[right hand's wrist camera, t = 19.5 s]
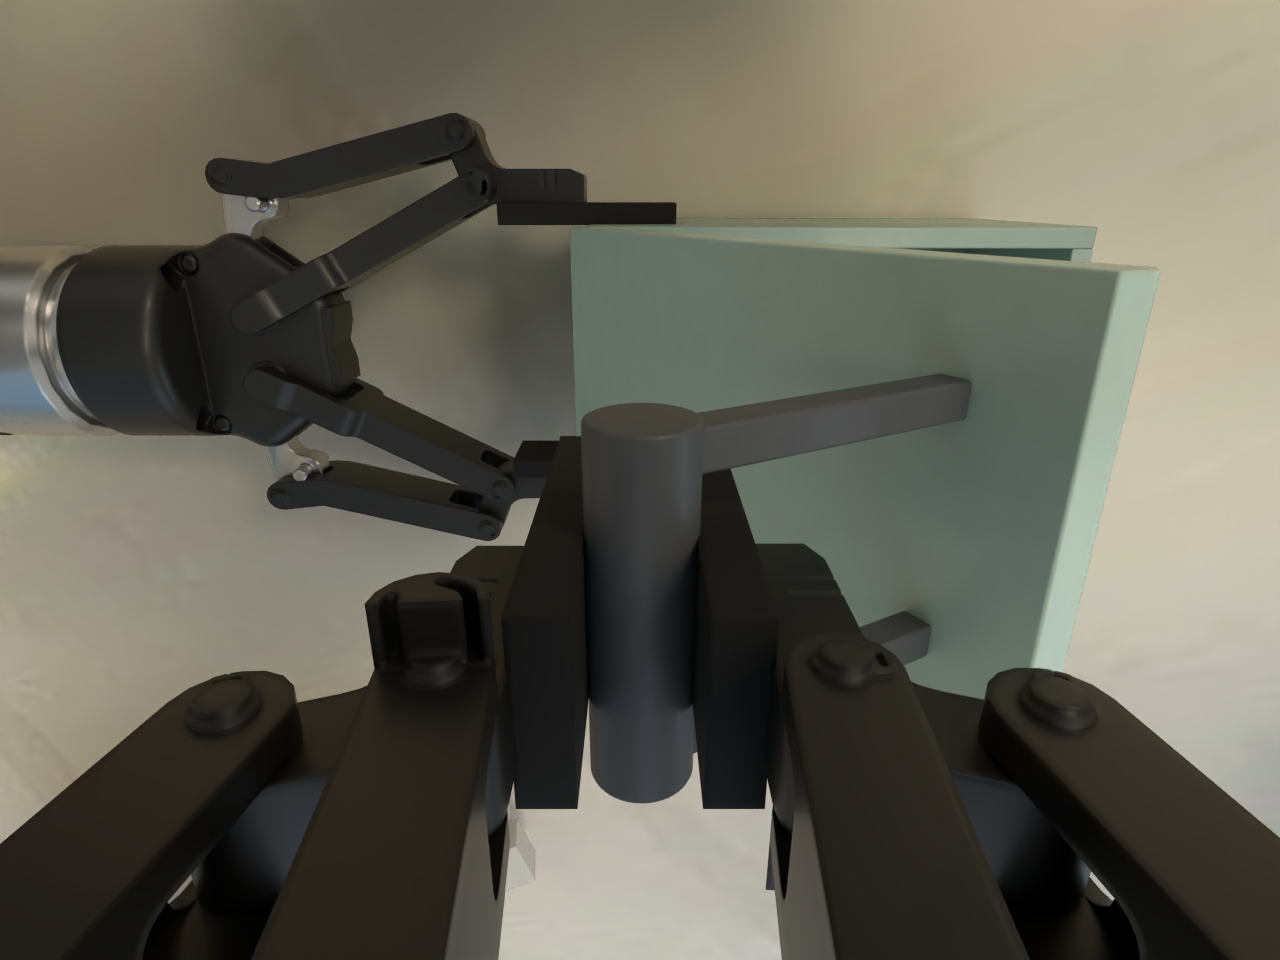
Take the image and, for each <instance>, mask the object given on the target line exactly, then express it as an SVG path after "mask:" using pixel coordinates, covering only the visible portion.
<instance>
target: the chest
mask: <svg viewBox="0 0 1280 960" xmlns="http://www.w3.org/2000/svg"><path fill="white" fill-rule="evenodd" d="M586 227H608V228H621V229H635V230H649V231H663V232H677V233H690V234H704V235H718V236H732V237H745V238H759V239H773V240H787V241H801V242H814V243H828V244H842V245H856V246H869V247H883V248H897V249H911V250H924V251H938V252H952V253H966V254H980V255H993V256H1007V257H1021V258H1035V259H1048V260H1062V261H1076V262H1090V259H1091V255H1092V249H1091V248H1093V245H1094V240H1095V236H1096V231H1097V228H1096V227H1089V226H1074V225H1059V224H1044V223H1029V222H1015V221H1000V220H985V219H676V224H591V225H588V226H586Z"/></svg>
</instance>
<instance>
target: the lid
mask: <svg viewBox="0 0 1280 960" xmlns="http://www.w3.org/2000/svg"><path fill="white" fill-rule="evenodd" d="M570 255H571V286H572V318H573V350H574V382H575V413H576V436H581V448H582V482H583V517H584V551H585V586H586V620H587V655H588V689H589V724H590V758H591V771H592V775H593V777H594V779H595V781H596V782H597V784H598V785H599V786H600V787H601V788H602V789H603V790H604V791H605V792H606V793H608V794H609V795H611V796H613V797H615V798H617V799H620V800H623V801H626V802H632V803H652V802H657V801H661V800H664V799H666V798H669V797H671V796H673V795H674V794H676V793H677V792H679V791H680V790H681V789H682V788H683V787H684V786H685V784H686V783H687V781H688V780H689V778H690V776H691V773H692V768H693V754H694V753H696V752H697V743H696V733H695V723H694V713H693V676H694V644H695V612H696V580H697V548H698V538H699V536H700V527H701V497H702V475H703V474H708V473H713V472H718V471H722V470H727V469H731V471H732V474H733V477H734V480H735V483H736V486H737V489H738V492H739V496H740V499H741V502H742V505H743V508H744V511H745V514H746V517H747V520H748V523H749V526H750V529H751V532H752V535H753V538H754V541H755V543H783V544H805V545H807V546H808V547H809V548H811V549H812V550H813V551H815V552H816V553H818V554H819V555H820V556H822V557H823V558H824V559H825V560H826V562H827V564H828V566H829V568H830V570H831V572H832V574H833V576H834V580H836V582H837V584H838V586H839V588H840V590H841V595H843V596H844V598H845V600H846V602H847V604H848V606H849V608H850V610H851V612H852V614H853V616H854V618H855V620H856V622H857V623H858V625H859V627H860V629H861V631H862V633H863V635H864V637H865V639H867V640H870V641H873V642H875V643H878V644H880V645H881V646H883V647H884V648H886V649H887V650H889V651H890V652H892V653H893V654H895V655H896V656H897V658H898V659H899V660H900V662H901V663H902V664H903V666H904V667H905V668H906V671H907V673H908V675H909V678H910V680H911V682H914V683H916V684H919V685H921V686H924V687H928V688H932V689H936V690H939V691H944V692H949V693H954V694H959V695H964V696H969V697H974V698H979V699H984V698H985V693H986V688H987V683H988V681H990V680H991V679H992V678H993V677H994V676H995V675H996V674H997V673H998V672H1002V671H1005V670H1009V669H1013V668H1042V669H1049V670H1052V671H1058V672H1062V673H1063V669H1064V665H1065V660H1066V656H1067V652H1068V648H1069V644H1070V640H1071V636H1072V632H1073V628H1074V624H1075V619H1076V615H1077V611H1078V607H1079V603H1080V599H1081V595H1082V591H1083V587H1084V583H1085V579H1086V574H1087V570H1088V566H1089V562H1090V558H1091V554H1092V550H1093V546H1094V542H1095V538H1096V534H1097V529H1098V525H1099V521H1100V517H1101V513H1102V509H1103V505H1104V501H1105V497H1106V493H1107V488H1108V484H1109V480H1110V476H1111V472H1112V468H1113V464H1114V460H1115V456H1116V452H1117V448H1118V443H1119V439H1120V435H1121V431H1122V427H1123V423H1124V419H1125V415H1126V411H1127V407H1128V402H1129V398H1130V394H1131V390H1132V386H1133V382H1134V378H1135V374H1136V370H1137V366H1138V362H1139V357H1140V353H1141V349H1142V345H1143V341H1144V337H1145V333H1146V329H1147V325H1148V321H1149V317H1150V312H1151V308H1152V304H1153V300H1154V296H1155V292H1156V288H1157V284H1158V280H1159V276H1160V269H1158V268H1156V267H1145V266H1131V265H1117V264H1104V263H1090V262H1076V261H1062V260H1048V259H1035V258H1021V257H1007V256H993V255H980V254H966V253H952V252H938V251H924V250H911V249H897V248H883V247H869V246H856V245H842V244H828V243H814V242H801V241H787V240H773V239H759V238H745V237H732V236H718V235H704V234H690V233H677V232H663V231H649V230H635V229H621V228H608V227H571V228H570Z"/></svg>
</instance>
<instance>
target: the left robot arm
mask: <svg viewBox="0 0 1280 960" xmlns="http://www.w3.org/2000/svg"><path fill="white" fill-rule="evenodd" d="M449 160H452V161H453V163H454V166H455V168H456V170H457V173H458V175H459V177H457V178H455V179H453V180H452V181H450V182H448V183H447V184H445V185H443V186H442V187H440V188H438V189H436V190H435V191H433V192H431V193H430V194H428V195H426V196H425V197H423V198H421V199H419V200H418V201H416V202H414V203H413V204H411V205H409V206H407V207H406V208H404V209H402V210H401V211H399V212H397V213H396V214H394V215H392V216H390V217H389V218H387V219H385V220H384V221H382V222H380V223H379V224H377V225H375V226H373V227H372V228H370V229H368V230H367V231H365V232H363V233H361V234H360V235H358V236H356V237H355V238H353V239H351V240H350V241H348V242H346V243H344V244H343V245H341V246H339V247H338V248H336V249H334V250H332V251H331V252H329V253H327V254H324V255H322V256H320V257H318V258H316V259H314V260H312V261H310V262H308V263H307V264H305V263H303V262H302V261H300V260H299V259H297V258H296V257H294V256H293V255H291V254H290V253H288V252H287V251H285V250H284V249H282V248H281V247H279V246H278V245H276V244H275V243H273V242H272V241H270V240H269V239H267V238H266V237H264V236H263V229H264V226H265V225H266V224H267V222H269V221H271V220H274V219H280V218H282V217H284V216H285V215H286V213H287V211H288V208H289V200H288V198H309V197H314V196H319V195H324V194H327V193H331V192H335V191H338V190H342V189H346V188H349V187H353V186H357V185H361V184H364V183H368V182H372V181H375V180H379V179H383V178H386V177H390V176H394V175H398V174H401V173H405V172H409V171H412V170H416V169H420V168H423V167H427V166H431V165H435V164H438V163H442V162H446V161H449ZM205 176H206V179H207V182H208V183H209V185H210V186H211V188H213V189H214V190H215V191H217V192H219V193H222V200H223V211H224V223H225V234H224V235H222V236H220V237H218V238H217V239H215V240H214V241H212V242H211V243H209V244H206V245H203V246H104V247H100V248H97V249H95V248H92V247H89V246H0V435H102V436H112V435H115V434H118V433H123V434H127V435H192V436H212V435H236V436H240V437H243V438H246V439H249V440H251V441H253V442H255V443H257V444H259V445H262V446H266V450H267V453H268V456H269V460H270V463H271V466H272V469H273V473H274V476H275V479H276V482H275V483H274V484H272V485H271V486H270V487H269V488H268V491H267V498H268V500H269V502H270V503H271V504H272V505H273V506H274V507H276V508H279V509H295V508H304V507H314V506H328V507H333V508H338V509H342V510H347V511H351V512H356V513H360V514H365V515H370V516H374V517H379V518H383V519H388V520H392V521H397V522H402V523H406V524H411V525H415V526H420V527H425V528H429V529H434V530H438V531H443V532H447V533H452V534H457V535H461V536H466V537H470V538H475V539H480V540H484V541H491V540H494V539H496V538H497V537H498V536H499V535H500V532H501V530H502V528H503V526H504V523H505V521H506V518H507V516H508V513H509V511H510V507H511V505H512V503H513V502H515V501H516V500H519V499H522V498H540V497H541V494H542V491H543V488H544V485H545V482H546V479H547V476H548V473H549V470H550V467H551V464H552V461H553V458H554V455H555V452H556V449H557V446H558V443H559V441H523V442H522V444H521V446H520V448H519V450H518V452H517V454H516V456H515V458H514V457H511V456H509V455H507V454H505V453H503V452H501V451H499V450H497V449H495V448H493V447H490V446H488V445H486V444H484V443H482V442H480V441H478V440H476V439H474V438H472V437H470V436H467V435H465V434H463V433H461V432H459V431H457V430H455V429H453V428H451V427H449V426H446V425H444V424H442V423H440V422H438V421H436V420H434V419H432V418H430V417H428V416H425V415H423V414H421V413H419V412H417V411H415V410H413V409H411V408H409V407H407V406H404V405H402V404H400V403H398V402H396V401H394V400H392V399H390V398H388V397H386V396H385V395H384V394H383V392H382V391H381V390H380V389H378V388H376V387H374V386H372V385H370V384H368V383H366V382H364V381H362V380H360V379H358V378H356V377H358V376H360V368H359V361H358V356H357V354H356V351H355V349H354V346H353V344H352V341H351V330H352V322H353V317H352V310H351V302H350V301H345V299H344V297H343V295H342V292H344V291H346V290H348V289H349V288H351V287H353V286H355V285H356V284H358V283H360V282H362V281H363V280H365V279H366V278H368V277H369V276H370V275H372V274H373V273H375V272H377V271H379V270H380V269H382V268H384V267H386V266H387V265H389V264H391V263H393V262H394V261H396V260H398V259H400V258H401V257H403V256H405V255H407V254H408V253H410V252H412V251H413V250H415V249H417V248H419V247H420V246H422V245H424V244H426V243H427V242H429V241H431V240H433V239H434V238H436V237H438V236H440V235H441V234H443V233H445V232H447V231H448V230H450V229H452V228H454V227H455V226H457V225H459V224H461V223H462V222H464V221H466V220H467V219H469V218H471V217H473V216H474V215H476V214H478V213H480V212H481V211H483V210H485V209H487V208H488V207H490V206H492V205H494V204H497V215H498V225H591V224H676V203H674V202H587V181H586V176H585V175H583V174H581V173H578V172H576V171H574V170H571V169H505V168H502V167H501V166H500V165H498V164H497V162H496V161H495V160H494V158H493V156H492V154H491V152H490V149H489V147H488V144H487V142H486V137H485V132H484V130H483V128H482V126H481V125H480V124H479V123H478V122H476V121H474V120H472V119H470V118H467V117H465V116H463V115H460V114H458V113H450V114H446V115H442V116H439V117H435V118H431V119H428V120H424V121H421V122H417V123H413V124H410V125H406V126H403V127H399V128H395V129H392V130H388V131H384V132H381V133H377V134H374V135H370V136H366V137H363V138H359V139H355V140H352V141H348V142H345V143H341V144H337V145H334V146H330V147H326V148H323V149H319V150H316V151H312V152H308V153H305V154H301V155H297V156H294V157H290V158H287V159H283V160H279V161H276V162H272V163H266V162H257V161H248V160H237V159H226V158H216V159H213V160H211V161H210V162H209V163H208V164H207V166H206V170H205ZM313 423H315V424H317V425H319V426H321V427H323V428H325V429H327V430H330V431H332V432H334V433H336V434H339V435H342V436H353V437H357V438H360V439H362V440H364V441H366V442H368V443H370V444H373V445H375V446H377V447H379V448H381V449H383V450H386V451H388V452H390V453H392V454H394V455H396V456H398V457H401V458H403V459H405V460H407V461H409V462H411V463H414V464H416V465H418V466H420V467H422V468H424V469H426V470H429V471H431V472H433V473H435V474H437V475H439V476H442V477H444V478H446V479H448V480H450V481H452V482H455V483H457V484H459V485H455V484H451V483H446V482H442V481H437V480H433V479H428V478H424V477H419V476H415V475H411V474H406V473H402V472H397V471H393V470H388V469H384V468H379V467H375V466H370V465H366V464H361V463H356V462H350V461H329V456H328V454H327V453H325V452H323V451H318V450H312V449H308V448H306V447H304V446H303V445H302V444H301V443H300V442H299V440H298V438H297V435H299V434H300V433H301V432H303V431H304V430H305V429H306V428H308V427H309V426H310V425H311V424H313ZM460 485H461V486H460Z"/></svg>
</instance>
